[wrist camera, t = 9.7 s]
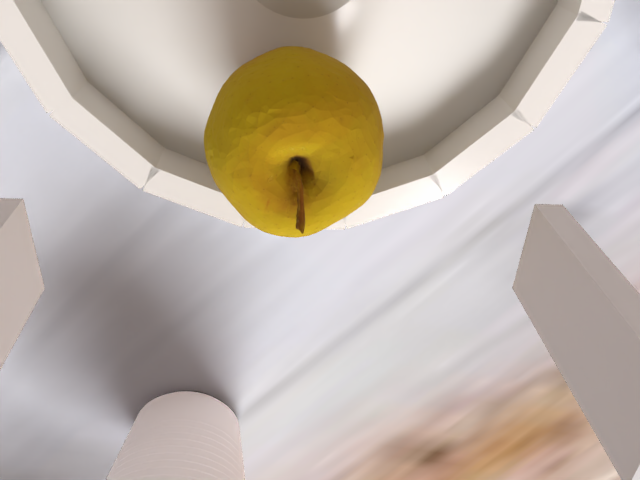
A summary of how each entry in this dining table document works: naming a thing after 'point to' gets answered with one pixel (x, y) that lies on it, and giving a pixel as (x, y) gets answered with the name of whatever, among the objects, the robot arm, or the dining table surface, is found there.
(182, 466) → the cup
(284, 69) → the apple
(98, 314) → the dining table surface
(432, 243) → the dining table surface
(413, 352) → the dining table surface
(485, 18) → the ring tray
